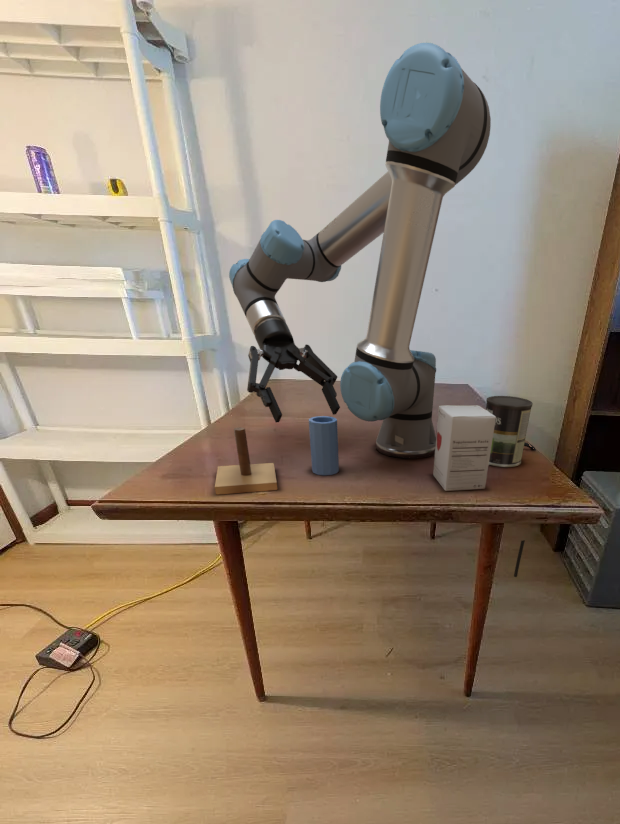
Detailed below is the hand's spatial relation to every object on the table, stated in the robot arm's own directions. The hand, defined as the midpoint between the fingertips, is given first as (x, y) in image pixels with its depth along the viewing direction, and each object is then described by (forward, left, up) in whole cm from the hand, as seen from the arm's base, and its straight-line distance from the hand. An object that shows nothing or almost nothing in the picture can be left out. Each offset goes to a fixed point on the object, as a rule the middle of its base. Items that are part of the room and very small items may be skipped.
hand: (309, 414), depth 90 cm
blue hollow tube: (-2, +5, -11) cm, 12 cm away
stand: (+14, +8, -11) cm, 19 cm away
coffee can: (-44, +6, -11) cm, 46 cm away
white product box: (-28, +17, -11) cm, 35 cm away
